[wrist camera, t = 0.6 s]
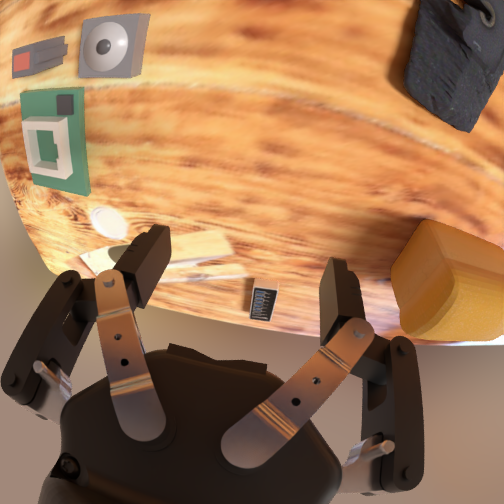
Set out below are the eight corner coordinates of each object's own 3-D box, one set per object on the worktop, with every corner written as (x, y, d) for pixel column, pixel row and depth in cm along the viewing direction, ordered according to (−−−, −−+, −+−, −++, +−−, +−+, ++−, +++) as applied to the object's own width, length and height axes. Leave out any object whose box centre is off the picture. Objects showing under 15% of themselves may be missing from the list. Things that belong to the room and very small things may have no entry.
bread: (506, 247, 34) (536, 310, 23) (471, 289, 43) (491, 350, 32) (423, 214, 33) (460, 297, 23) (386, 271, 43) (402, 350, 32)
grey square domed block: (95, 18, 18) (81, 20, 16) (150, 14, 19) (137, 13, 17) (90, 73, 24) (75, 78, 22) (140, 74, 25) (128, 78, 22)
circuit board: (25, 90, 24) (11, 98, 22) (84, 87, 25) (69, 93, 23) (37, 180, 37) (27, 190, 35) (91, 192, 38) (80, 203, 36)
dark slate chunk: (375, 78, 23) (389, 85, 19) (429, -51, 7) (447, -58, 4) (466, 140, 24) (485, 156, 21) (516, 26, 9) (538, 32, 6)
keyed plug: (42, 40, 19) (11, 50, 14) (68, 34, 19) (36, 42, 15) (41, 66, 22) (11, 79, 17) (66, 63, 22) (34, 74, 18)
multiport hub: (279, 279, 47) (279, 289, 46) (271, 312, 55) (270, 322, 54) (254, 275, 48) (253, 286, 46) (250, 309, 55) (248, 319, 54)
